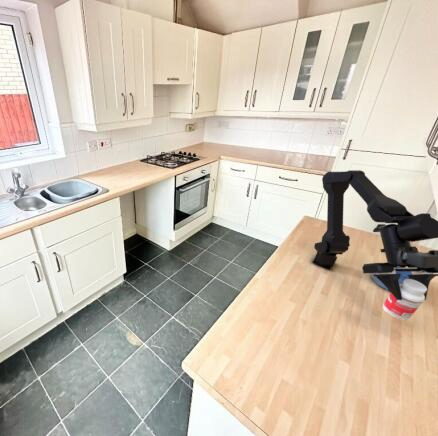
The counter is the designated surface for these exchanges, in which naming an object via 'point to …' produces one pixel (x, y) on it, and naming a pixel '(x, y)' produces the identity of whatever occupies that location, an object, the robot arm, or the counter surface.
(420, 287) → the pill bottle
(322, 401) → the counter surface
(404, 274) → the bowl
